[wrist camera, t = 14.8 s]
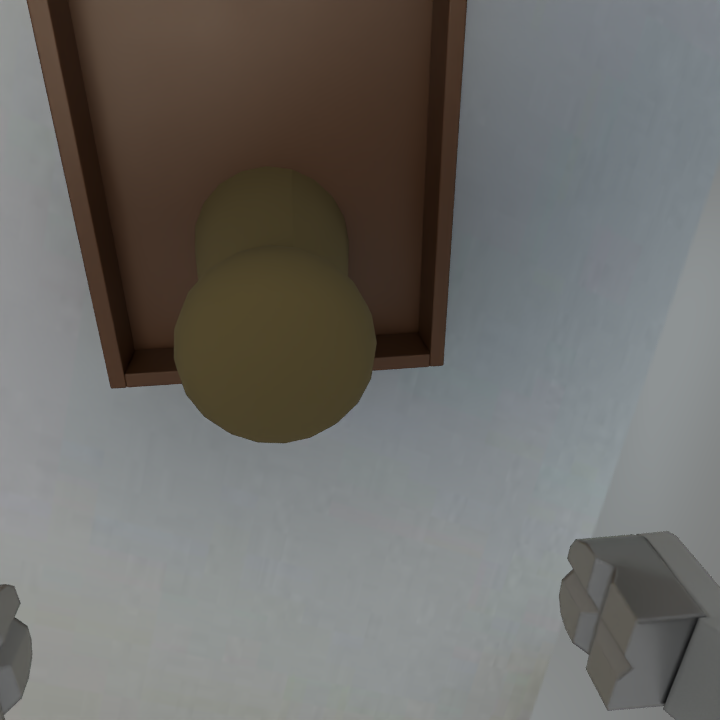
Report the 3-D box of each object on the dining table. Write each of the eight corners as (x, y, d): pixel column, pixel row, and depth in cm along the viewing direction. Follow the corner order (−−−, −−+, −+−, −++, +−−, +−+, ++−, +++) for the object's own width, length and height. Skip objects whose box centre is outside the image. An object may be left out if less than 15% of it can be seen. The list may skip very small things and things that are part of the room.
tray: (452, -144, 20) (478, -171, 17) (427, 337, 28) (443, 366, 25) (22, -158, 18) (-16, -190, 16) (125, 356, 26) (110, 389, 24)
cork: (296, 340, 26) (315, 513, 16) (166, 267, 24) (99, 417, 14) (378, 222, 24) (453, 339, 15) (244, 132, 22) (229, 199, 12)
